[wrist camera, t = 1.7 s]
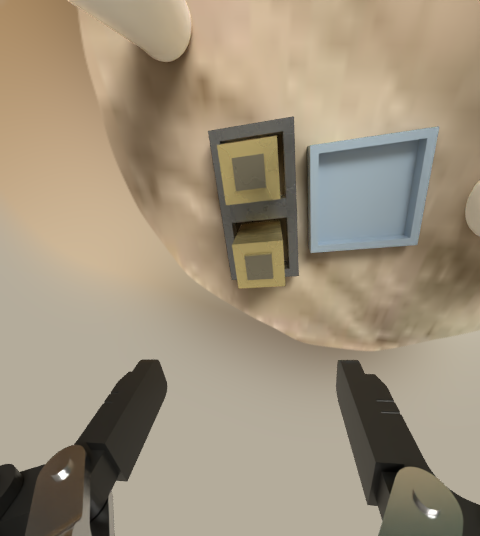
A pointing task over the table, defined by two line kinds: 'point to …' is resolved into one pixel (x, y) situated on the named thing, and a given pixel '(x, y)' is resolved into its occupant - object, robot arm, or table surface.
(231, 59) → the table surface
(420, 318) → the table surface
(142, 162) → the table surface
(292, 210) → the frame
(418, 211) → the parts tray
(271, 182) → the square peg
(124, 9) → the white tapered cylinder
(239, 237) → the gold square peg
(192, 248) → the table surface
